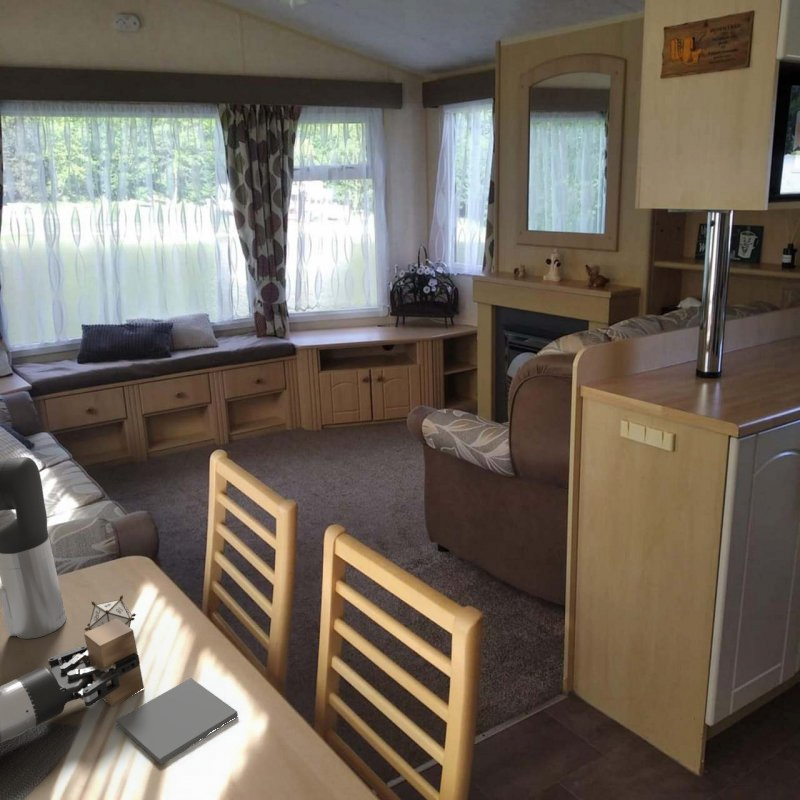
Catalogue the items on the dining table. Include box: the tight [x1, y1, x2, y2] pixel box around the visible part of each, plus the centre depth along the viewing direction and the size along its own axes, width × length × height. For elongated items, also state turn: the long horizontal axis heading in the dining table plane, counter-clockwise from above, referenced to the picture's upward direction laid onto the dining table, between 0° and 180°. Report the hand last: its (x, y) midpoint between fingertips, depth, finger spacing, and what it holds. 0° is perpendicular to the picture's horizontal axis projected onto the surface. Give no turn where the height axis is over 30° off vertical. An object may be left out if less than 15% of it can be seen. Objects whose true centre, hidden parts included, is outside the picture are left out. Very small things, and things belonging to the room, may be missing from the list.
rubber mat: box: [115, 677, 239, 766], centre depth 121 cm, size 13×13×1 cm
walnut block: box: [83, 618, 145, 708], centre depth 127 cm, size 6×6×11 cm
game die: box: [83, 594, 137, 632], centre depth 142 cm, size 9×8×10 cm
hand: (128, 651), depth 129 cm, fingers closed on walnut block, 5 cm apart
